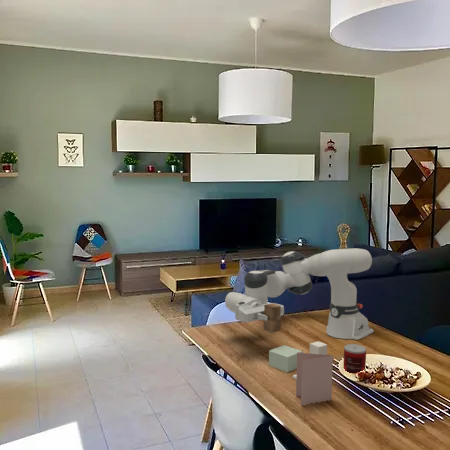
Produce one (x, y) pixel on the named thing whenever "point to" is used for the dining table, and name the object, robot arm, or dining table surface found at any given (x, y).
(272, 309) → the walnut post
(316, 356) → the greeting card
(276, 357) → the sage block
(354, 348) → the canned food
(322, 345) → the offwhite post
